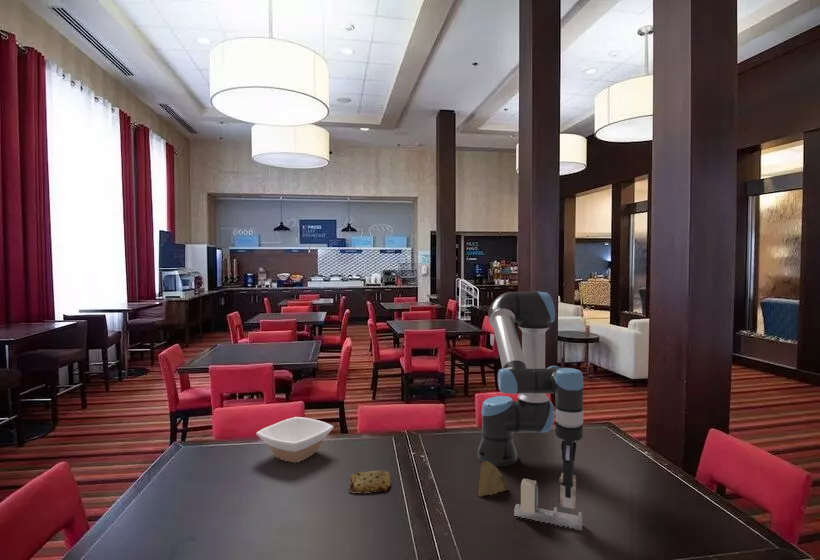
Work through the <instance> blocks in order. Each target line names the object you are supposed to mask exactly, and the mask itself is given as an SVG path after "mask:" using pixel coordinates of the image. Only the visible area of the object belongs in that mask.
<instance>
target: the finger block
mask: <svg viewBox="0 0 820 560" xmlns="http://www.w3.org/2000/svg"><path fill="white" fill-rule="evenodd" d="M561 482H563V472H561V475H560V476H559V477H558V502H559V507H563V485H561ZM576 488H577V474H576V475H573V510H575V509H576V501H577V497H576V496H577V489H576ZM563 508H564V507H563Z"/></svg>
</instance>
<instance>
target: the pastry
mask: <svg viewBox="0 0 820 560" xmlns="http://www.w3.org/2000/svg"><path fill="white" fill-rule="evenodd" d="M391 483H392V482H391V475H390V472H389V471H386V470H370V471H359V472H355V473H353V474H351V477H350V479H349V487H348V491H349V490H350V491H352V492H375V491H378V490H379V491H378V492H381V491H385V492H387V491H388V489H389V488H390V487H391V486H392V484H391ZM350 491H349V492H350Z"/></svg>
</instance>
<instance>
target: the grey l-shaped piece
mask: <svg viewBox="0 0 820 560" xmlns="http://www.w3.org/2000/svg"><path fill="white" fill-rule="evenodd" d="M538 506H539V485H538V484H537V480H534V479H533V480H532V479H528V478H522V480H521V483H520V504H519V503H515V506H514V508H513V509H514V510H513V512H514V513H513V516H518V517H521V518H520V519H522V518H527V519H532V520H535V521H534V522H537V521H540V522H539V523H542V522H545V523H544V524H547V523H551V524H550V525H552V524H555V525H554V526H557V525H559V526H558V527H562V526H565V527H564V528H567V527H569V528H568V529H572V528H574V529H573V530H578V531H583V515H582V512H581V511H578V514H577V515H576V514H571V513H566V512H561V511H558V507H553V510H549V509H546V508H542V507H541V508H539V507H538ZM518 517H517V518H518ZM527 519H526V520H527ZM532 520H531V521H532Z"/></svg>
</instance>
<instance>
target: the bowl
mask: <svg viewBox="0 0 820 560" xmlns="http://www.w3.org/2000/svg"><path fill="white" fill-rule="evenodd" d="M332 430H334V425H333V424H330V423H328V422H326V421H321V420H318V419H314V418H308V417H300V416H294V417H290V418H287V419H284V420H281V421H279V422H276V423H274V424H271V425H269V426H266V427H263V428H262V429H260V430H258V431H257V432H256V436H257V437H259V438H260V440H262V441H263V442H264V443H265V444H266V445H267V446H268V448H269V449H270V451H271V453H272V454H273V455H274V457H275V456H276V457H278V458H281V459H283V460H287V461H292V462H297V461H299V460H302V459H304V458H306V457H308V456H310V455H311V454H314V453H315V452H316V451H317V452H318V450H319V448H320V447H321V445H322V443H323V441H324V439H325V438H326V436H328V435H329V433H331V431H332ZM317 452H316V453H317ZM314 455H315V454H314ZM276 457H275V458H276ZM278 458H277V459H278Z"/></svg>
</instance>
